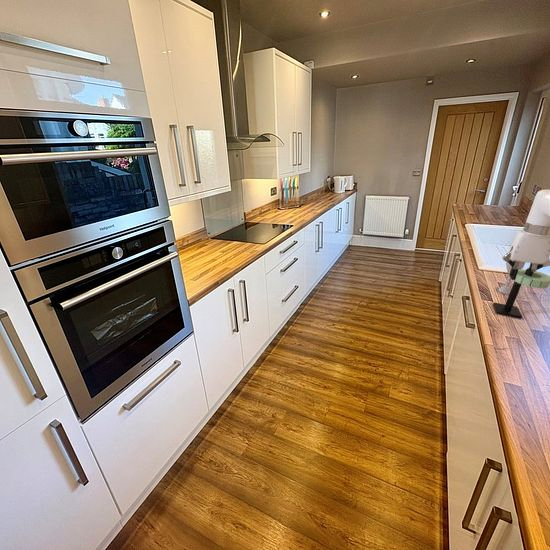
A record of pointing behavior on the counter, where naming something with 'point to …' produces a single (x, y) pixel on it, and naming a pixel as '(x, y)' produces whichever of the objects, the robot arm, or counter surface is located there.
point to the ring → (533, 279)
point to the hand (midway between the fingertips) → (518, 279)
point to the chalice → (509, 278)
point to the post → (509, 303)
